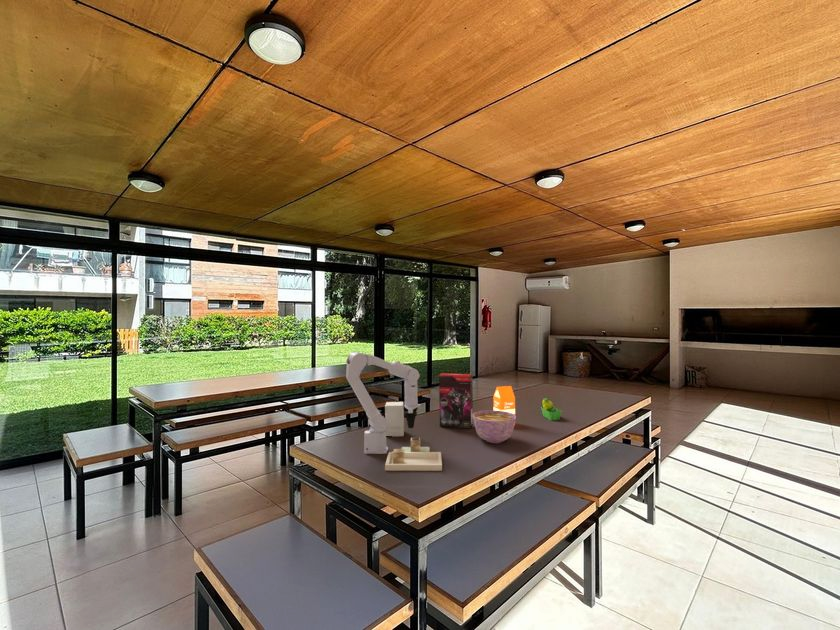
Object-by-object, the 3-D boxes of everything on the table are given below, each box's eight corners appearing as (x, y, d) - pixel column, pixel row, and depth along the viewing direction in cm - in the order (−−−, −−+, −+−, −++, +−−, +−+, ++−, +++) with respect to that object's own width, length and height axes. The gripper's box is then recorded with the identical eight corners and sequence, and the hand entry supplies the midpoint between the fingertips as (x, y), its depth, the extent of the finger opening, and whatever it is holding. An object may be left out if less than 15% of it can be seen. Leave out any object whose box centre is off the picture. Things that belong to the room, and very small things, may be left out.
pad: (400, 456, 163) (400, 454, 163) (402, 448, 173) (402, 446, 173) (429, 456, 163) (429, 455, 163) (429, 448, 173) (429, 446, 173)
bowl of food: (464, 436, 189) (464, 412, 189) (501, 432, 196) (500, 408, 196) (486, 450, 171) (486, 423, 171) (525, 444, 178) (525, 418, 178)
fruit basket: (562, 420, 218) (562, 399, 218) (547, 421, 216) (547, 400, 216) (552, 415, 229) (552, 395, 229) (538, 415, 228) (538, 396, 228)
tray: (385, 471, 147) (385, 464, 147) (388, 458, 161) (388, 452, 161) (442, 471, 147) (442, 465, 147) (440, 458, 161) (440, 452, 161)
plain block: (393, 465, 152) (393, 452, 152) (394, 461, 156) (394, 448, 156) (403, 465, 152) (403, 452, 152) (404, 461, 156) (404, 448, 156)
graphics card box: (438, 427, 206) (438, 374, 206) (441, 423, 213) (441, 372, 213) (471, 429, 201) (471, 375, 201) (473, 426, 208) (473, 373, 208)
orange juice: (493, 422, 214) (493, 385, 214) (507, 421, 216) (507, 384, 216) (500, 426, 206) (500, 388, 206) (515, 425, 209) (515, 387, 209)
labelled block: (410, 452, 166) (410, 440, 166) (410, 449, 170) (410, 437, 170) (420, 452, 166) (420, 440, 166) (420, 449, 170) (420, 437, 170)
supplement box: (404, 431, 199) (403, 401, 199) (403, 436, 190) (403, 405, 190) (385, 431, 199) (385, 401, 199) (384, 436, 190) (384, 405, 190)
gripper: (419, 398, 168) (419, 430, 168) (420, 391, 182) (420, 421, 182) (403, 398, 168) (403, 430, 168) (405, 391, 183) (405, 421, 183)
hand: (411, 425), depth 175 cm, fingers open, 7 cm apart
